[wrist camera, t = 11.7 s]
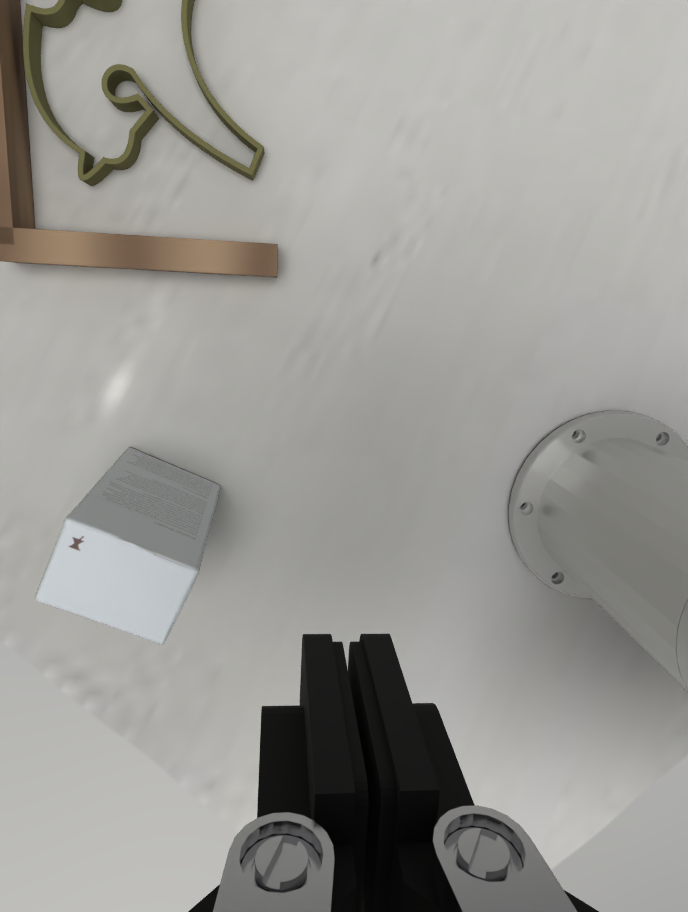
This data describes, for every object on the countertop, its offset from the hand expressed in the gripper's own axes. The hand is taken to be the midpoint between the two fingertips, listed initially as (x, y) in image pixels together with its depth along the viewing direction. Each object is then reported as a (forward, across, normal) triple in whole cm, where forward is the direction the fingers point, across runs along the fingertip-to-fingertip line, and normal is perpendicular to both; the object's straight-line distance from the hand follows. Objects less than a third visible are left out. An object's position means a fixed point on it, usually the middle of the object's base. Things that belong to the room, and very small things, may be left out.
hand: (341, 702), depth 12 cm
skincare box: (+27, +8, +5) cm, 29 cm away
